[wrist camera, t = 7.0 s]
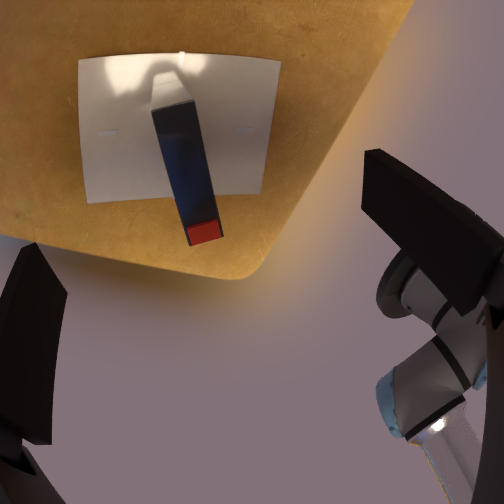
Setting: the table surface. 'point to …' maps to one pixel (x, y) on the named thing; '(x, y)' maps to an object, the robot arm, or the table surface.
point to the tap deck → (143, 131)
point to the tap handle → (186, 161)
